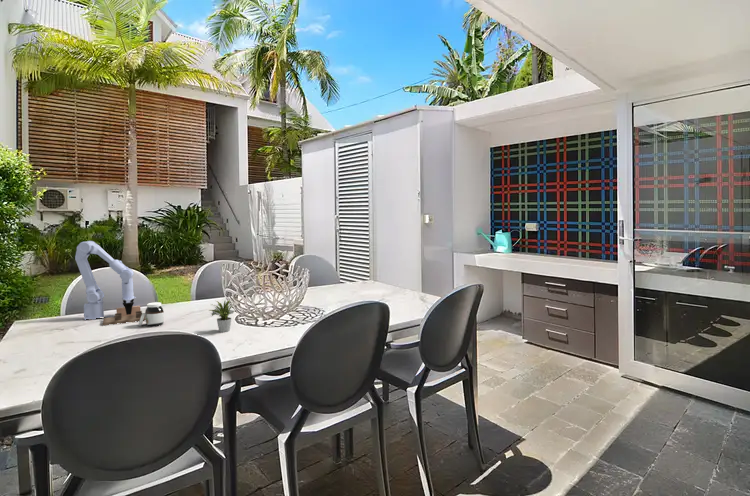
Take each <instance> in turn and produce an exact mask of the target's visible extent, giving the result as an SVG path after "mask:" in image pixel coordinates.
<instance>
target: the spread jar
mask: <svg viewBox="0 0 750 496" xmlns="http://www.w3.org/2000/svg"><path fill="white" fill-rule="evenodd" d="M144 312H145V313H144ZM144 312H142V315H141V318H140V321H139V322H138V325H137V326H139V327H141V326H142V324H143V322H144V321H143V320H144V317H145V318H146V321H145V323H146V326H147V327H149V326H155V327H159V325H160V326H162V325H163V324H164V323H165V314H164V308H163V307H162V302H160V301H159V302H158V301H154V302H149V303H147V304H146V308H145V311H144Z"/></svg>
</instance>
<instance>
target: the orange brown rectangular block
mask: <svg viewBox="0 0 750 496" xmlns="http://www.w3.org/2000/svg"><path fill="white" fill-rule="evenodd" d="M136 311H142V310H141V305H133V306H132V312H131V314H129V315H127V314H126V310H125V307H124V306H121V307H119V306H118V307H116V311H115V312H116V313H121V315H122V316H130V315H136Z"/></svg>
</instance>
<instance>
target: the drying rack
mask: <svg viewBox="0 0 750 496" xmlns="http://www.w3.org/2000/svg"><path fill="white" fill-rule="evenodd" d="M142 313H143V311H142V310H141V311H136V315H130V316H122V315H121V313H117V312H116V313H114V316H112V317H111V316H110V317H105V318H103V321H102V326H103V325H104V326H110V325H109V324H113V325H118V324H117V323H122V324H127V323H126V322H132V323H136V322H135V321H140V318H141V315H142ZM144 320H146V318H145V317H144ZM144 320H143V322H145V321H144Z"/></svg>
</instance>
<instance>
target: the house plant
mask: <svg viewBox="0 0 750 496" xmlns="http://www.w3.org/2000/svg"><path fill="white" fill-rule="evenodd" d="M216 302H217V304H218V305H215V304H213V303H211V306H213V307H215V308H216V309H208V311H211V312H213V313H211V315H210V316H211V317H212V316H214V315H216V316H218V317H217V318H216V322H217V328H218V331H219V333H228V332H230V330H231V324H232V317H230V316H229V315H231V312H229V310H230V309H231V307H232V306H233V305H231V306H230V305H229V302H230V300H229V301H227V302H226V305H225V301H224V306H222V304H221V302H219V301H218V300H216ZM231 302H232V301H231ZM230 304H231V303H230ZM232 304H233V303H232ZM228 305H229V306H230V308H229V307H228ZM218 306H219V307H220V308H221V309H220V308H219V307H218ZM217 308H218V309H219V310H220V311H219V310H218V309H217ZM228 309H229V310H228ZM216 312H217V313H219V314H216ZM232 312H233V311H232Z"/></svg>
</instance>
